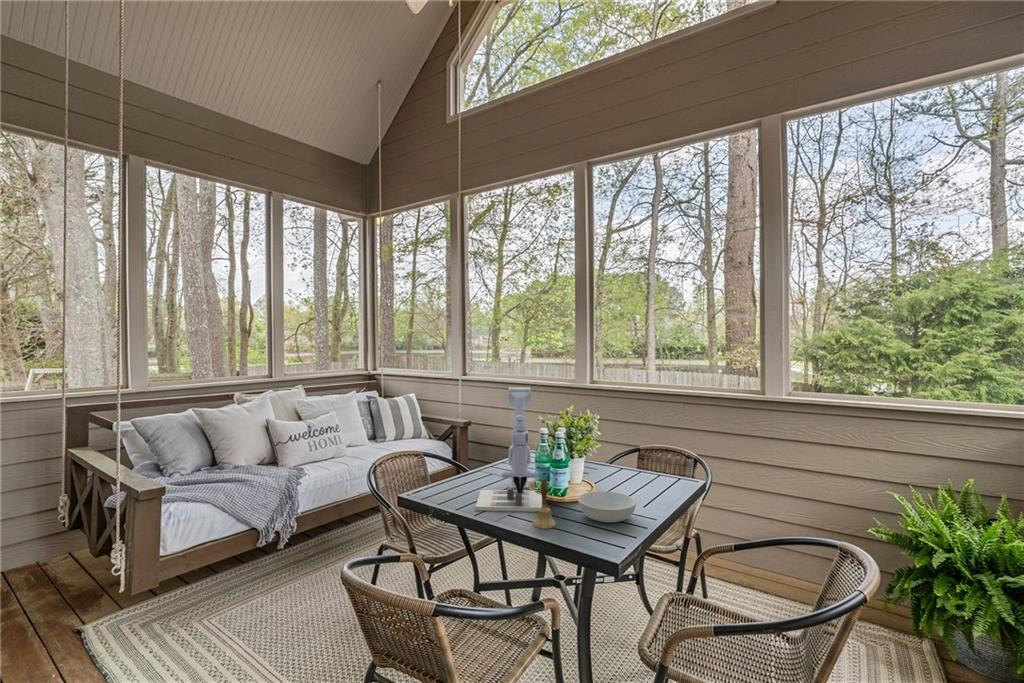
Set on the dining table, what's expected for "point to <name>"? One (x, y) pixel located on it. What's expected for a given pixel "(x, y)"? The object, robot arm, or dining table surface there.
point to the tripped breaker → (510, 492)
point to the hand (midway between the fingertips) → (520, 495)
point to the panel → (508, 501)
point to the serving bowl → (606, 506)
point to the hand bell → (544, 510)
